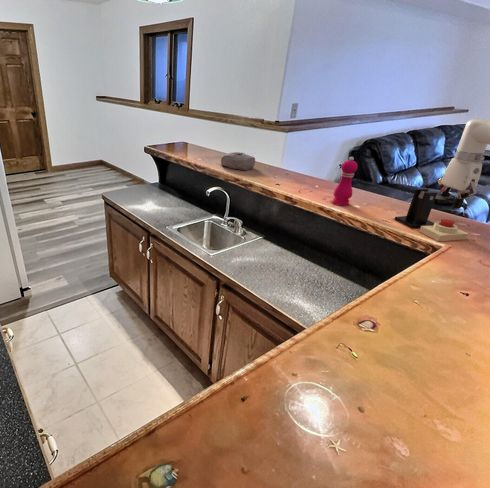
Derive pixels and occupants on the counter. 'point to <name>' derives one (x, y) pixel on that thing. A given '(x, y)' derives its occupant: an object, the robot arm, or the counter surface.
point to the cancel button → (446, 223)
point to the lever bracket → (419, 210)
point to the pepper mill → (345, 183)
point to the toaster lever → (438, 197)
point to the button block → (443, 232)
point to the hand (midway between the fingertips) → (449, 205)
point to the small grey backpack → (238, 161)
